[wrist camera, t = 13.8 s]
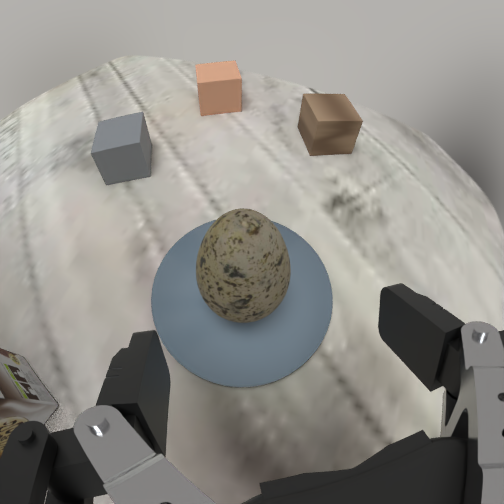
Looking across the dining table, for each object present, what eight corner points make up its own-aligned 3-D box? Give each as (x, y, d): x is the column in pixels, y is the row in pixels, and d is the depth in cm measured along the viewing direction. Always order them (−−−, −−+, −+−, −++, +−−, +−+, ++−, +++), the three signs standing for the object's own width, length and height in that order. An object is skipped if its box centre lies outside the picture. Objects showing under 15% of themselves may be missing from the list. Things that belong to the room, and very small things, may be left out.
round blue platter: (122, 306, 24) (117, 301, 23) (232, 198, 29) (232, 190, 28) (254, 424, 20) (255, 425, 19) (359, 286, 25) (363, 281, 24)
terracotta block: (201, 116, 35) (197, 83, 31) (198, 95, 38) (195, 64, 33) (241, 111, 36) (241, 78, 31) (235, 91, 38) (235, 60, 34)
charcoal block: (106, 185, 30) (90, 153, 26) (111, 153, 32) (98, 121, 28) (150, 177, 30) (139, 142, 26) (152, 145, 33) (143, 111, 28)
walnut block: (310, 156, 32) (318, 121, 28) (297, 127, 35) (303, 93, 30) (351, 154, 33) (362, 121, 28) (336, 126, 35) (344, 94, 31)
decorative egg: (254, 247, 25) (259, 159, 17) (298, 306, 23) (331, 239, 14) (189, 283, 24) (159, 206, 15) (230, 348, 22) (220, 306, 13)
